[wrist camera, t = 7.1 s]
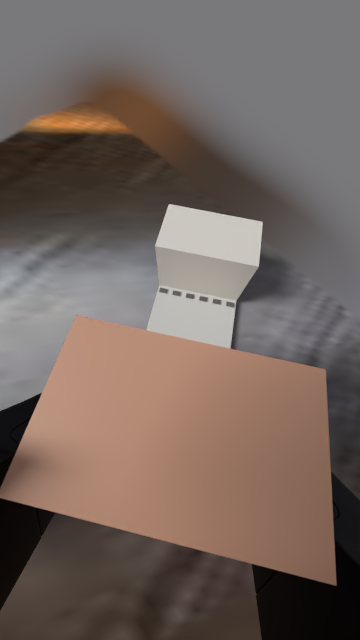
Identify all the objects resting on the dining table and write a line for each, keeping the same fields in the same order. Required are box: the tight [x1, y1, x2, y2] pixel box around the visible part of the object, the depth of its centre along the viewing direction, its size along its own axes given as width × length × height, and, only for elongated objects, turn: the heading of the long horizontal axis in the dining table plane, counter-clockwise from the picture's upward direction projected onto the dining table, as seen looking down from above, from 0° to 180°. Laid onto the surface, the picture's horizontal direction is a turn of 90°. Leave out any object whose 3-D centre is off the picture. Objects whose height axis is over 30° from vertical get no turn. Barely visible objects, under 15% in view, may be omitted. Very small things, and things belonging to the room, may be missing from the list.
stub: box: [0, 315, 337, 586], centre depth 9 cm, size 3×5×12 cm, turn 78°
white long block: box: [146, 204, 263, 348], centre depth 14 cm, size 18×7×6 cm, turn 168°
